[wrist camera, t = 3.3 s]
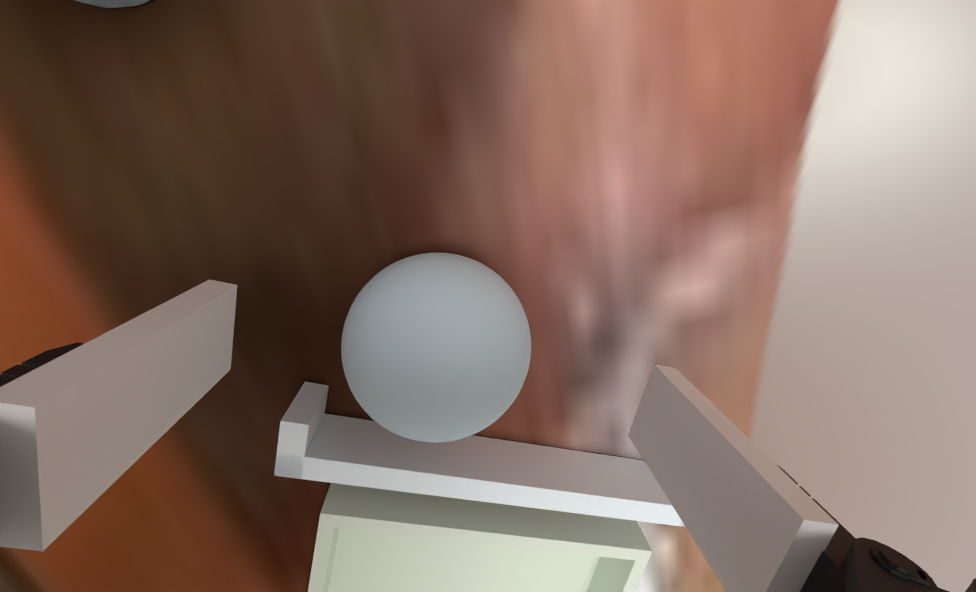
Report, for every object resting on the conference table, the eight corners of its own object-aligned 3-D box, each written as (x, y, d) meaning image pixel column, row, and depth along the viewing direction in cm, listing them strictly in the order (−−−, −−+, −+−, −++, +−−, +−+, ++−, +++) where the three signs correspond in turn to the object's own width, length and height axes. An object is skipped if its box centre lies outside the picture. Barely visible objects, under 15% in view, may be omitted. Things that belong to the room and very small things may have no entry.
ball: (349, 370, 19) (304, 471, 13) (373, 221, 18) (334, 257, 11) (496, 394, 20) (519, 498, 14) (532, 255, 19) (577, 305, 12)
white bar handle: (298, 429, 20) (273, 475, 17) (304, 381, 19) (280, 420, 16) (668, 482, 23) (701, 528, 20) (685, 441, 22) (721, 483, 19)
